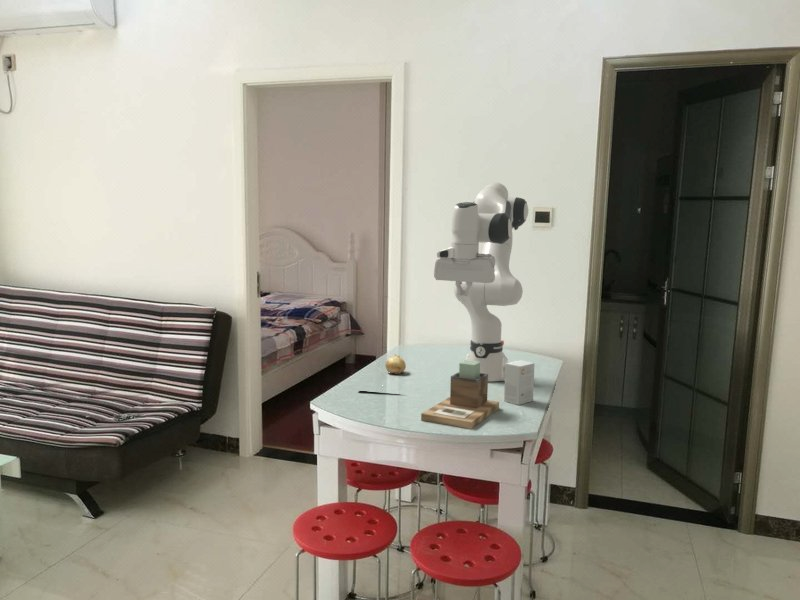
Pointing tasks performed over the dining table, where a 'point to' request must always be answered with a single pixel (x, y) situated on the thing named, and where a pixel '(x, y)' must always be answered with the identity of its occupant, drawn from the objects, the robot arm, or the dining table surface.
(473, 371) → the sage block
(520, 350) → the dining table surface
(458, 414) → the oak base board
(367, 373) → the dining table surface
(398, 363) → the onion
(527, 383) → the small box
